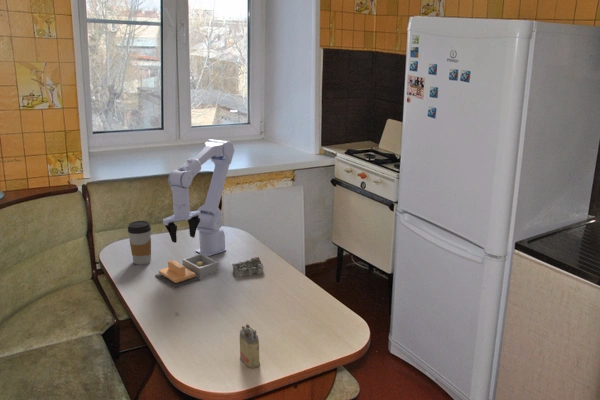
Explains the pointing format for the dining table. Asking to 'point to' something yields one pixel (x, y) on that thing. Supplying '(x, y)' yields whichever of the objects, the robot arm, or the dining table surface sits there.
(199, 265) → the parts tub
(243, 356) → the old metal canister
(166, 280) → the mat
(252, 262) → the grey rock
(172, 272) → the lid
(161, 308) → the dining table surface
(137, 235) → the coffee cup
